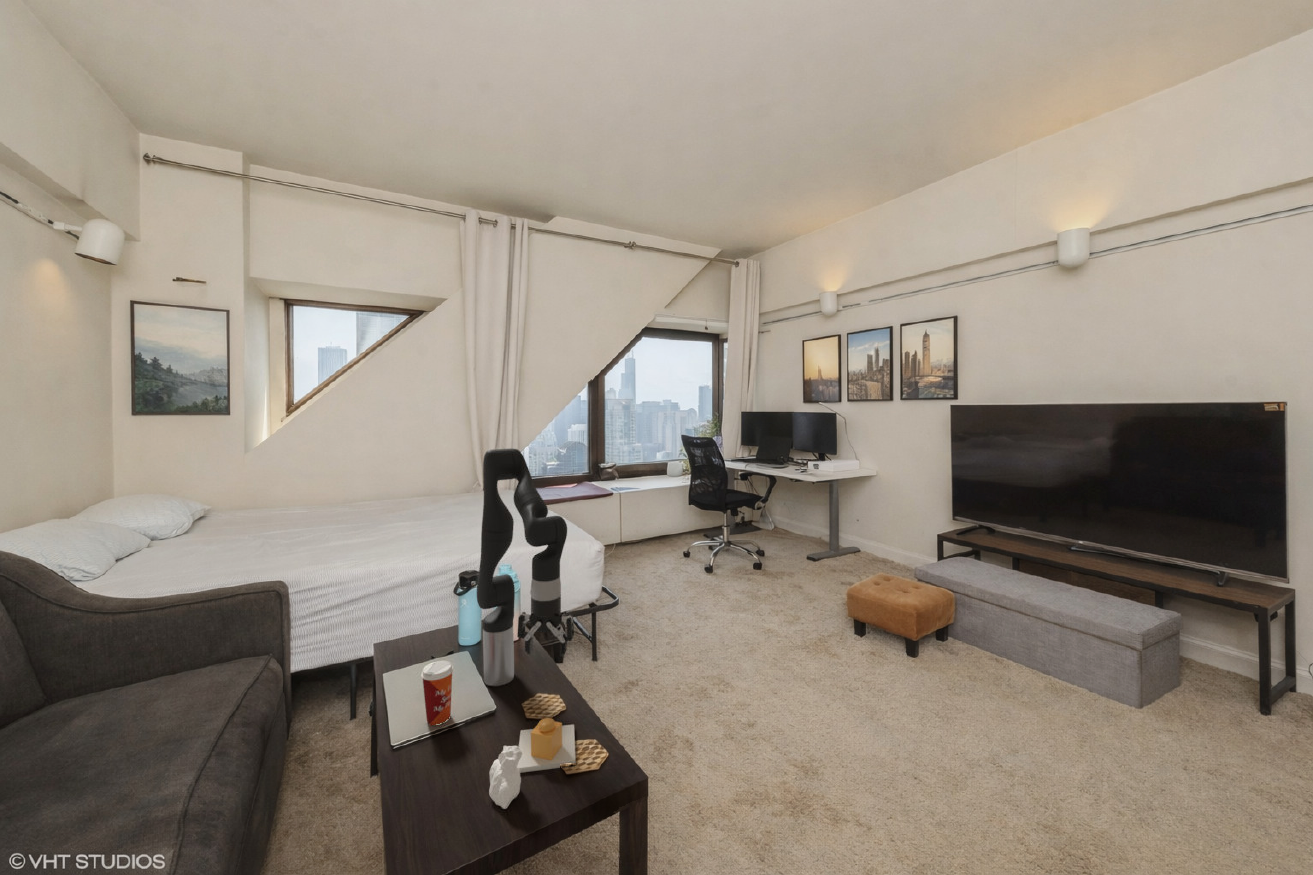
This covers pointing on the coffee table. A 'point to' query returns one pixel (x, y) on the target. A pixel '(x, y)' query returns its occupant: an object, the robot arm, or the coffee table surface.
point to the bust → (505, 776)
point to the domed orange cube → (546, 739)
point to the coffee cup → (437, 691)
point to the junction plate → (535, 763)
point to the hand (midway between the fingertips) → (545, 653)
